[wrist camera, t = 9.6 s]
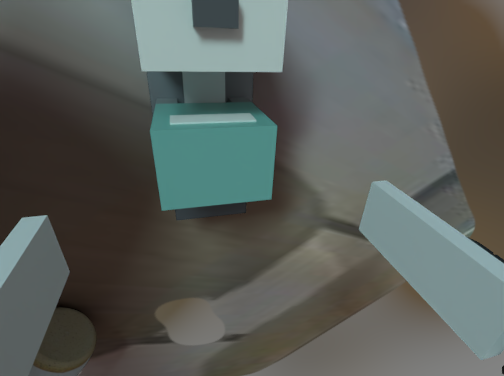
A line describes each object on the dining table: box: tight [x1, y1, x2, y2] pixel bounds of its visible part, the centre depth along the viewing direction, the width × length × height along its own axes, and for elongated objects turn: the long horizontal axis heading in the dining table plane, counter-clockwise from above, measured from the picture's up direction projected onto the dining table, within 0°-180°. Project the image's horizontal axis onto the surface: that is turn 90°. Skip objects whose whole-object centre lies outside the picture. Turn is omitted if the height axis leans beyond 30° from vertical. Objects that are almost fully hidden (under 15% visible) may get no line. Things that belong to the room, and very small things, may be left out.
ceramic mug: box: [28, 307, 96, 376], centre depth 28 cm, size 11×8×8 cm
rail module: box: [150, 97, 277, 211], centre depth 20 cm, size 5×7×8 cm
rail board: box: [131, 0, 288, 220], centre depth 19 cm, size 19×8×10 cm, turn 179°
